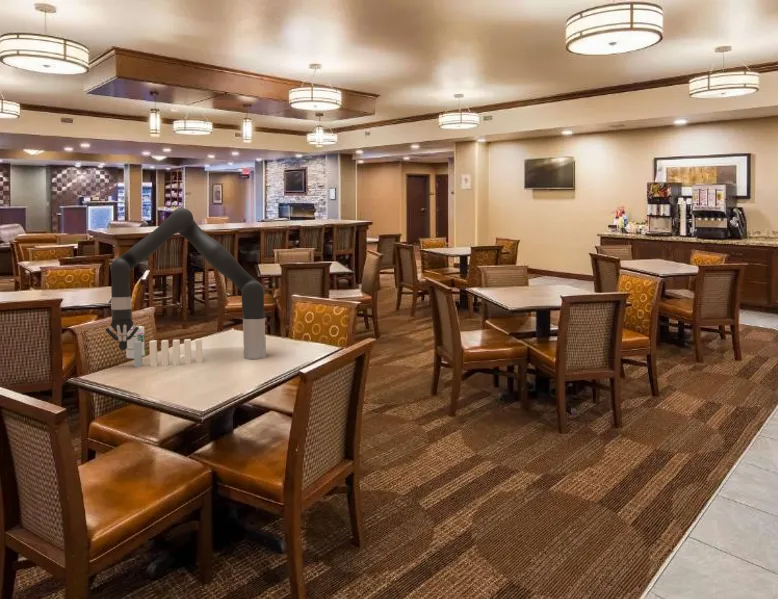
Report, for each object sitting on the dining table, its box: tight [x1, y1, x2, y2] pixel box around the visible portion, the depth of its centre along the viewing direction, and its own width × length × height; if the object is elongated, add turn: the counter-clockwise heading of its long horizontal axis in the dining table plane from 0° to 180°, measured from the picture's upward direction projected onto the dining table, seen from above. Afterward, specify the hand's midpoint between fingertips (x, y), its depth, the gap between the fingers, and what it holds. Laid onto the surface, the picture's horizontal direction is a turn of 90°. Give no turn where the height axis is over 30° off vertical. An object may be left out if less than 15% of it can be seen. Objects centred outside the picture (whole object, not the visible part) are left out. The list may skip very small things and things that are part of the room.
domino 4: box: [172, 339, 181, 366], centre depth 249 cm, size 2×5×10 cm, turn 16°
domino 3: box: [160, 339, 170, 367], centre depth 247 cm, size 2×5×10 cm, turn 16°
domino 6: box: [194, 338, 203, 364], centre depth 251 cm, size 2×5×10 cm, turn 16°
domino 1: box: [133, 341, 143, 368], centre depth 245 cm, size 2×5×10 cm, turn 16°
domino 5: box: [183, 338, 192, 365], centre depth 250 cm, size 2×5×10 cm, turn 16°
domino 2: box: [148, 339, 158, 367], centre depth 246 cm, size 2×5×10 cm, turn 16°
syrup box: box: [125, 325, 147, 359], centre depth 259 cm, size 6×6×14 cm
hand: (123, 350), depth 243 cm, fingers closed
